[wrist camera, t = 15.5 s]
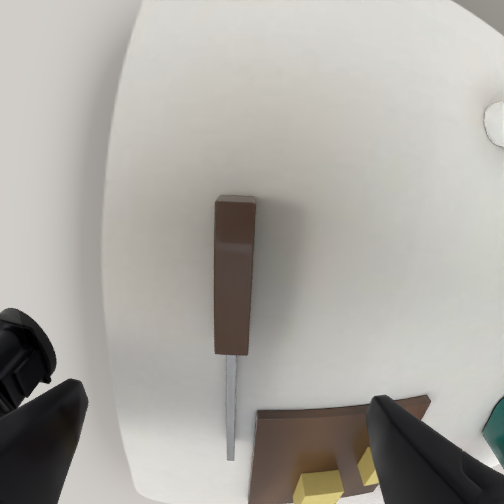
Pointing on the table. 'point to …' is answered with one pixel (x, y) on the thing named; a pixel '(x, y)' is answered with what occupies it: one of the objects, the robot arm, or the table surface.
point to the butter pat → (367, 469)
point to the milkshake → (495, 123)
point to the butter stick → (318, 488)
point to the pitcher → (496, 432)
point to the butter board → (312, 448)
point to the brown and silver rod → (232, 290)
